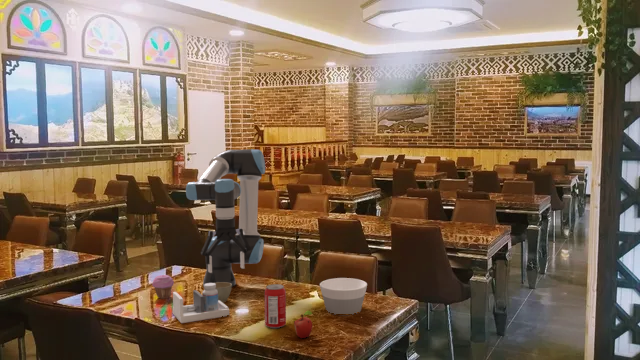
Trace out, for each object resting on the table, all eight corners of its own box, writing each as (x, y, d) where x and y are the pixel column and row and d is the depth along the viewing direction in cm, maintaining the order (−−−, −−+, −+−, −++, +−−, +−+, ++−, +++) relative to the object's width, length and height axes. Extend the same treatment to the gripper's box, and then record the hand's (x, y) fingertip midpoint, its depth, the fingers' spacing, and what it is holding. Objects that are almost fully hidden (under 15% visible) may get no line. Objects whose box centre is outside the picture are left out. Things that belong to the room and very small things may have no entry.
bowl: (342, 300, 247) (342, 275, 246) (377, 309, 233) (377, 283, 232) (309, 310, 233) (309, 283, 233) (344, 320, 220) (344, 292, 219)
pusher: (196, 309, 233) (196, 289, 232) (204, 316, 224) (203, 296, 223) (184, 311, 231) (183, 291, 230) (191, 318, 221) (190, 298, 221)
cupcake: (161, 301, 247) (160, 278, 246) (148, 298, 252) (148, 275, 251) (178, 296, 254) (177, 274, 253) (165, 293, 259) (164, 271, 259)
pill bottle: (220, 310, 233) (220, 282, 232) (214, 314, 227) (214, 286, 226) (206, 309, 234) (205, 282, 233) (200, 313, 228) (199, 285, 227)
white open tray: (219, 306, 239) (218, 285, 238) (229, 315, 227) (229, 293, 226) (172, 313, 230) (172, 291, 229) (181, 323, 218) (180, 299, 217)
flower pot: (236, 299, 250) (235, 282, 249) (225, 305, 240) (224, 288, 240) (215, 297, 253) (215, 281, 252) (203, 303, 243) (203, 286, 243)
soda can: (268, 330, 209) (268, 290, 208) (262, 324, 216) (261, 285, 215) (289, 327, 212) (288, 287, 211) (281, 321, 219) (281, 282, 218)
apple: (290, 339, 200) (289, 311, 199) (297, 333, 206) (297, 305, 206) (310, 342, 197) (310, 313, 196) (318, 335, 204) (317, 307, 203)
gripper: (251, 214, 240) (252, 264, 241) (191, 219, 228) (193, 271, 230) (257, 216, 233) (258, 268, 235) (197, 221, 221) (198, 275, 223)
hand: (226, 270), depth 232 cm, fingers open, 13 cm apart
